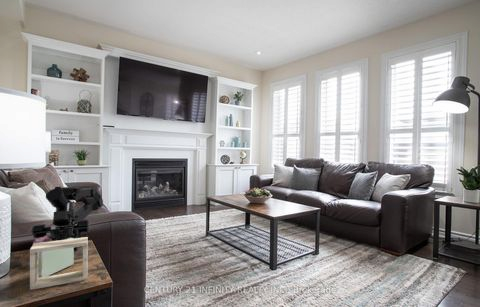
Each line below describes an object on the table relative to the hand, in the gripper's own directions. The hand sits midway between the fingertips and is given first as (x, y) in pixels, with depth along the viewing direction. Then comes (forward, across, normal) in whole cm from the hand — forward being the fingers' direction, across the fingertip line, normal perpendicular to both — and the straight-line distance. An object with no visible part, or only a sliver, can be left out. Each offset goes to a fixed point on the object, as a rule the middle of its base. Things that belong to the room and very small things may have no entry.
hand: (60, 248), depth 102 cm
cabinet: (+14, +2, -5) cm, 15 cm away
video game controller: (-11, -9, +21) cm, 25 cm away
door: (+8, -1, +1) cm, 8 cm away
